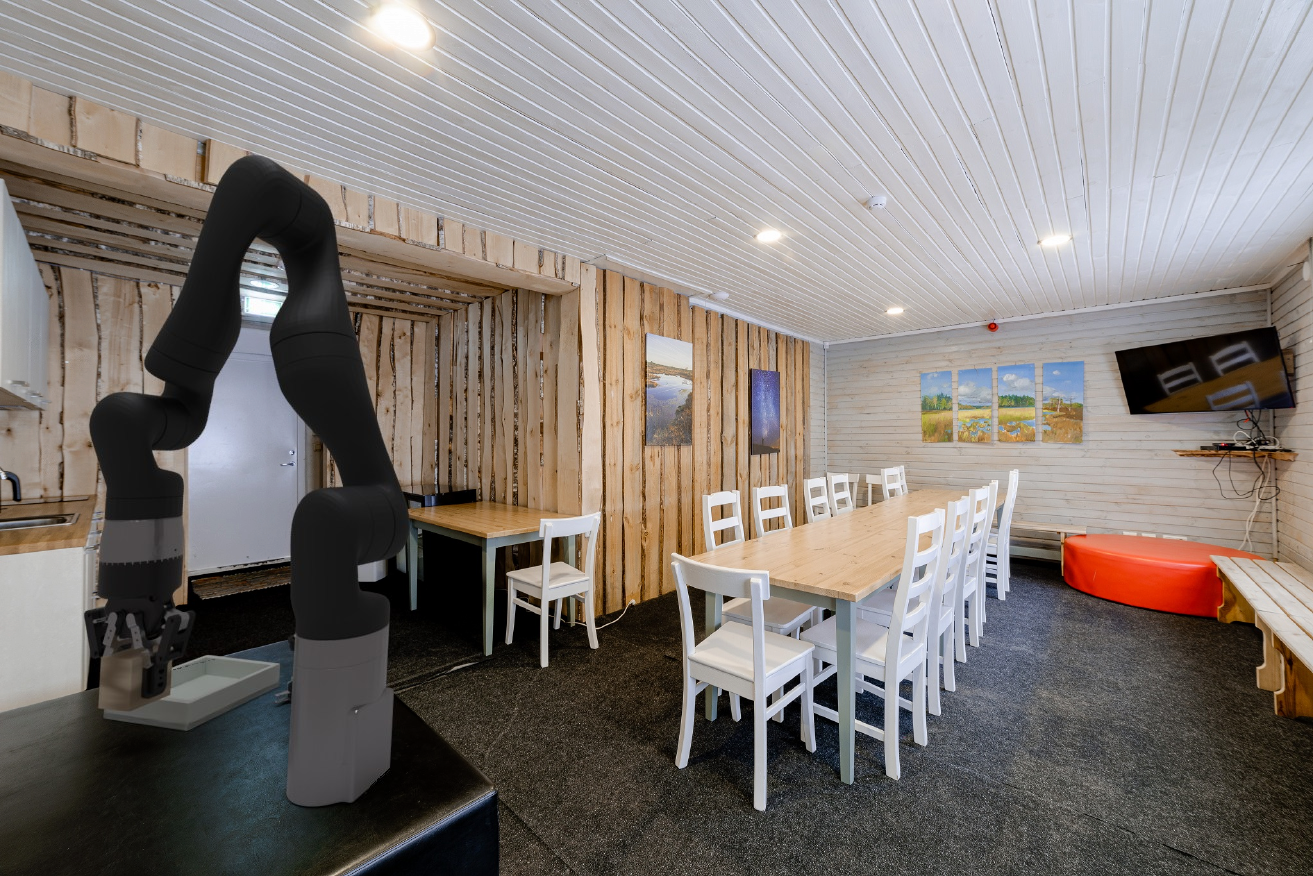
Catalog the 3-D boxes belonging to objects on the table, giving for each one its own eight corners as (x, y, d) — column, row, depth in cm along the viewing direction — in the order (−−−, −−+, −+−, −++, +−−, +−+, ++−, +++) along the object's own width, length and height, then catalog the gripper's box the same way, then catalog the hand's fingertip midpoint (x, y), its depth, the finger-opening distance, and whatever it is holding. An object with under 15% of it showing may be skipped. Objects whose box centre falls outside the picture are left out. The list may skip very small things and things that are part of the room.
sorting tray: (278, 686, 82) (280, 663, 82) (187, 730, 69) (189, 703, 69) (205, 677, 84) (207, 654, 84) (103, 718, 71) (105, 691, 71)
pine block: (170, 694, 66) (172, 646, 67) (129, 711, 62) (132, 660, 62) (140, 691, 67) (143, 644, 67) (98, 708, 63) (101, 657, 63)
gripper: (221, 551, 68) (215, 686, 67) (130, 547, 70) (123, 677, 69) (157, 562, 61) (150, 714, 60) (58, 557, 63) (49, 703, 62)
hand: (135, 693), depth 65 cm, fingers closed on pine block, 4 cm apart
